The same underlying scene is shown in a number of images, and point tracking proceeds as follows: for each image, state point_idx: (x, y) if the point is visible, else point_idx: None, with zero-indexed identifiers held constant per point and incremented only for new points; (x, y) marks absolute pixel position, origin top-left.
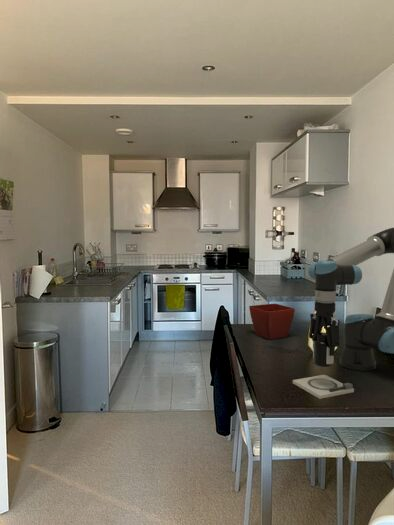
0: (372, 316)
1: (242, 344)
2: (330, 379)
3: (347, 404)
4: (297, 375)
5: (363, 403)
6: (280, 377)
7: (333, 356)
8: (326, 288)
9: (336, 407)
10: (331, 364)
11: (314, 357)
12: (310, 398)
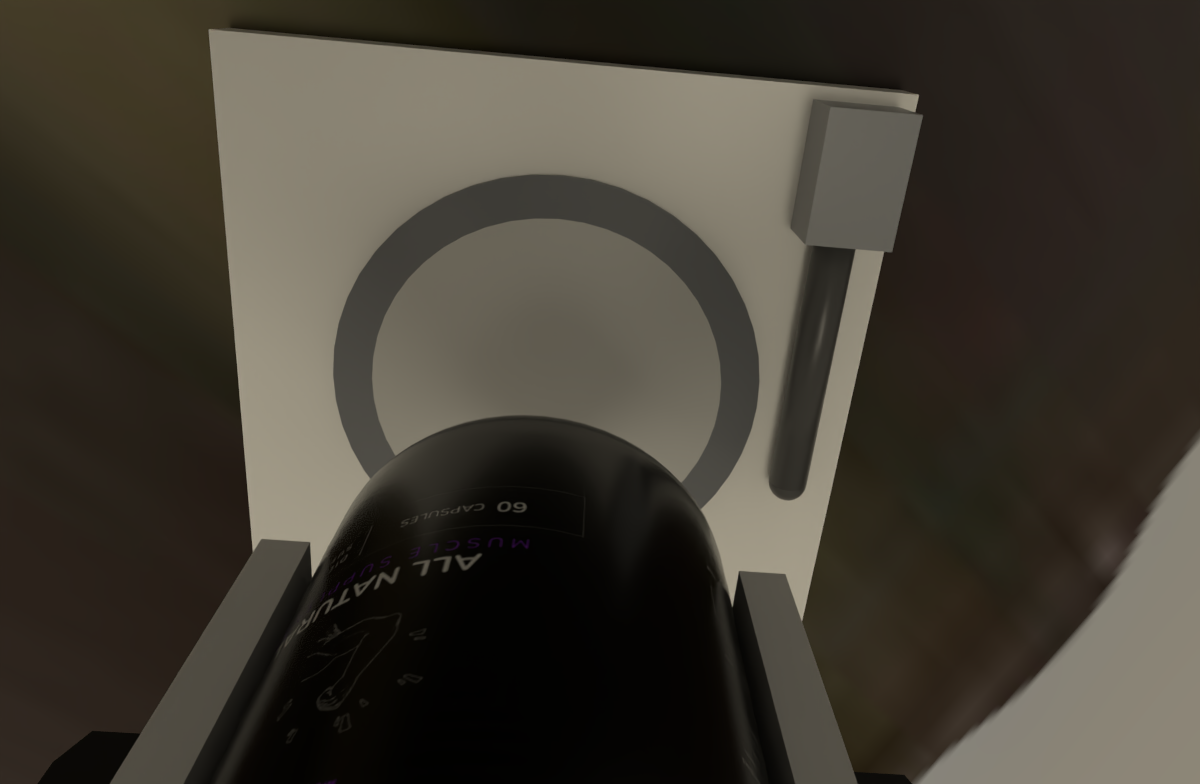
0: None
1: None
2: (443, 123)
3: (1067, 477)
4: (25, 359)
5: (1189, 290)
6: (43, 596)
7: (825, 697)
8: None
9: (1028, 622)
10: (714, 538)
11: None
12: None
